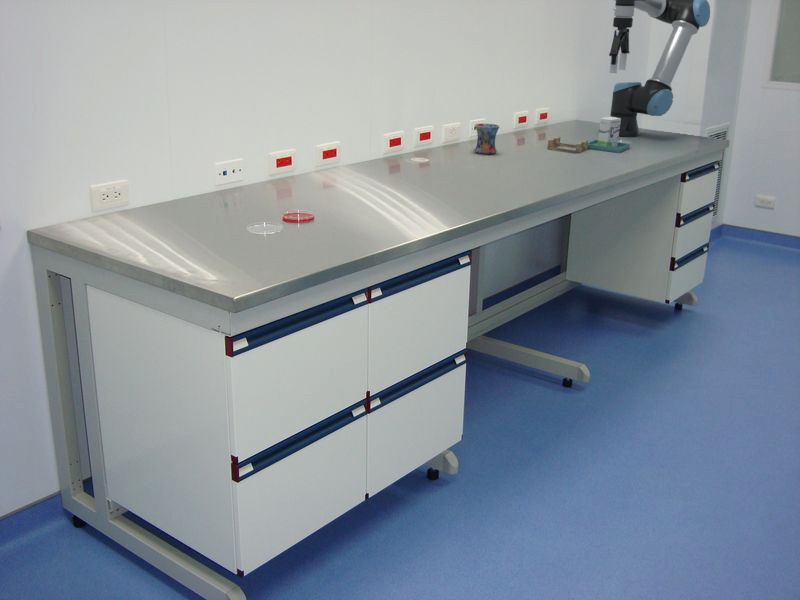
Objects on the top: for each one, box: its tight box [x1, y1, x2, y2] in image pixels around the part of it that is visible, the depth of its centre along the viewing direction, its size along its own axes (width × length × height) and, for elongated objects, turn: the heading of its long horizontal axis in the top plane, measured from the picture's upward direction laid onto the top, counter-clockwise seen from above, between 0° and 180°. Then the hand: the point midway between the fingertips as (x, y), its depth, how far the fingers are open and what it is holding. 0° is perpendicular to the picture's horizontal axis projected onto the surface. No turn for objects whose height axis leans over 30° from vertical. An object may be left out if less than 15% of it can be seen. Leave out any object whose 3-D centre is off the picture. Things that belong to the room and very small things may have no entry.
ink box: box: [597, 116, 621, 147], centre depth 346 cm, size 9×5×12 cm, turn 136°
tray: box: [586, 139, 631, 154], centre depth 348 cm, size 14×15×2 cm
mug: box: [474, 123, 500, 155], centre depth 326 cm, size 12×9×11 cm
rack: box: [547, 136, 589, 154], centre depth 341 cm, size 13×13×4 cm
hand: (617, 71), depth 347 cm, fingers open, 13 cm apart
